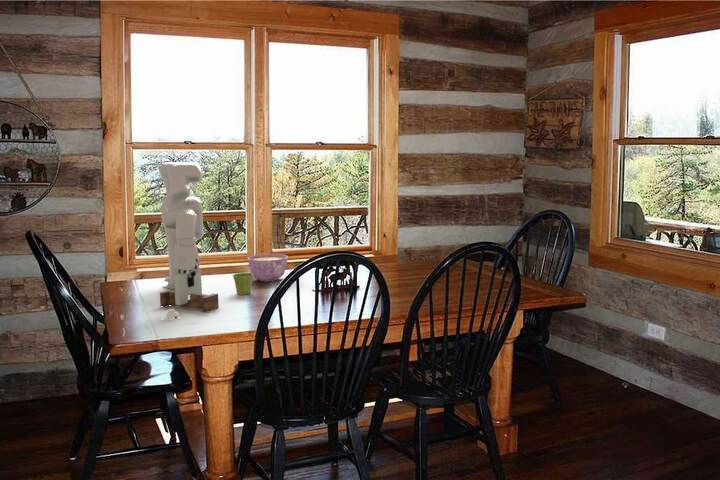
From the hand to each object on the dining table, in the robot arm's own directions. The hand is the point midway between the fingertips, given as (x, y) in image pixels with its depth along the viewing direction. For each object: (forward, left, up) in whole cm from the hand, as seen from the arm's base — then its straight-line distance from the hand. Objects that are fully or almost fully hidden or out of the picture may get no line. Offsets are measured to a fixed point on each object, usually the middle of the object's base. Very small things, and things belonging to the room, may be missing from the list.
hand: (188, 285), depth 287 cm
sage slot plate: (0, 0, -7) cm, 7 cm away
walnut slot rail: (0, 0, -9) cm, 9 cm away
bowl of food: (-2, +61, -9) cm, 62 cm away
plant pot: (+5, +31, -9) cm, 33 cm away
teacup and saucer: (+8, -16, -10) cm, 20 cm away
